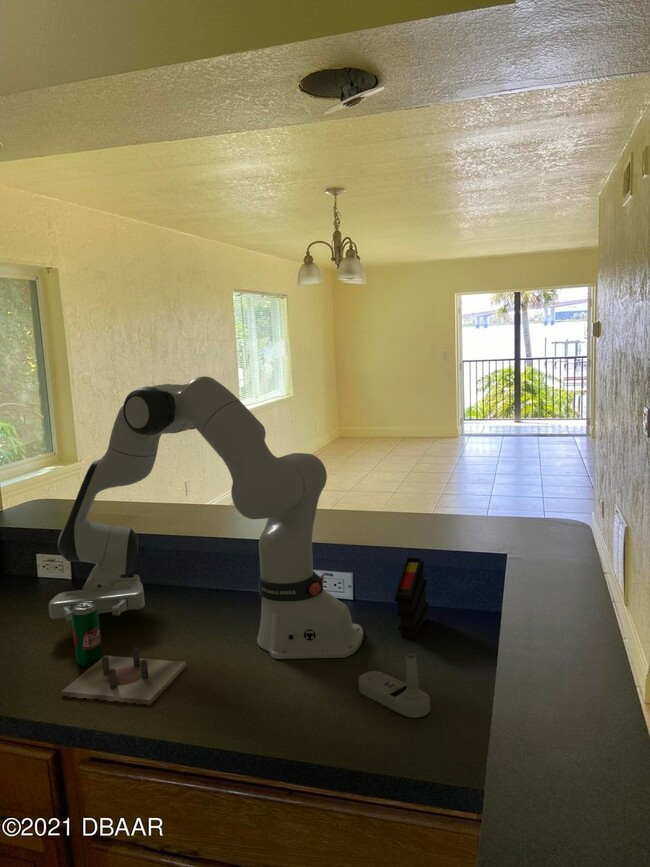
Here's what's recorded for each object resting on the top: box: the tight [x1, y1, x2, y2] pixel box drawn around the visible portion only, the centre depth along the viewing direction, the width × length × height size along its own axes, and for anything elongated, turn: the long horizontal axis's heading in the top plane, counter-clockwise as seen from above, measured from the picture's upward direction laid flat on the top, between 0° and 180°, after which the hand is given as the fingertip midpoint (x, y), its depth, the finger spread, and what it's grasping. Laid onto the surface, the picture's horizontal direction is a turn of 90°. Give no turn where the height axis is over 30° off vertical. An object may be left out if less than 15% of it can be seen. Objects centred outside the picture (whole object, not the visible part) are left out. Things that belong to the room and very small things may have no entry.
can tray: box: [61, 647, 187, 706], centre depth 123 cm, size 18×14×5 cm
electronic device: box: [357, 653, 431, 719], centre depth 112 cm, size 5×10×15 cm
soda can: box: [71, 601, 104, 667], centre depth 132 cm, size 5×5×12 cm
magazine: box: [394, 557, 430, 638], centre depth 139 cm, size 4×13×15 cm, turn 157°
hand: (92, 615), depth 138 cm, fingers open, 8 cm apart
